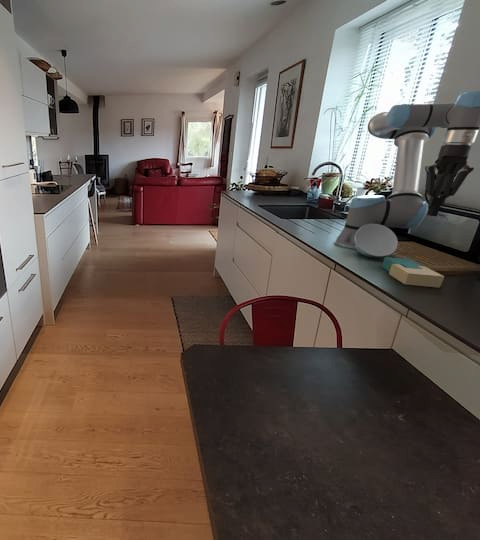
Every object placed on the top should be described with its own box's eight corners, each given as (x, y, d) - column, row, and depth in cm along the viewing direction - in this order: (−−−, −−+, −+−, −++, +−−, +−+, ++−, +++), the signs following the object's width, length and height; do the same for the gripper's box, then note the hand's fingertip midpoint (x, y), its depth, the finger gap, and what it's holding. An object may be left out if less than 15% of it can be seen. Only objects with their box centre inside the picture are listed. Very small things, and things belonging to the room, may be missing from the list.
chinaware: (360, 268, 137) (369, 261, 130) (339, 239, 143) (347, 231, 136) (395, 256, 136) (406, 248, 129) (372, 228, 142) (382, 218, 135)
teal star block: (381, 266, 124) (384, 257, 123) (405, 269, 122) (409, 259, 121) (397, 277, 114) (401, 266, 112) (424, 280, 112) (428, 269, 110)
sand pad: (388, 274, 117) (392, 263, 115) (420, 277, 114) (424, 266, 113) (404, 284, 107) (408, 273, 106) (440, 287, 105) (444, 276, 104)
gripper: (441, 143, 105) (416, 216, 113) (490, 144, 102) (461, 218, 110) (427, 144, 112) (404, 212, 120) (472, 145, 109) (446, 214, 117)
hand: (431, 215), depth 115 cm, fingers closed
